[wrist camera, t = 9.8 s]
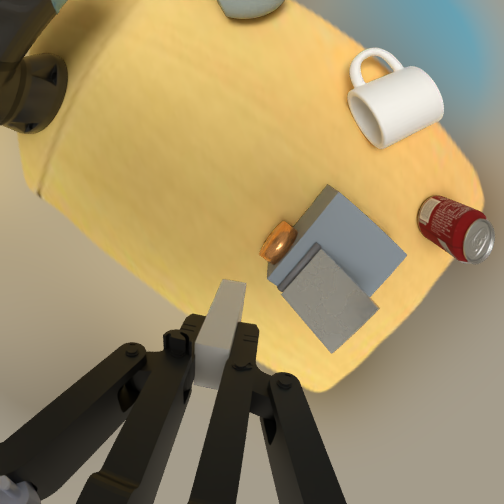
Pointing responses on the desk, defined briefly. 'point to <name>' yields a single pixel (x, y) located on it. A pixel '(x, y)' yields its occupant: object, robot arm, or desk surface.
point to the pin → (278, 243)
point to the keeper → (329, 301)
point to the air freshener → (248, 8)
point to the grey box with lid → (339, 244)
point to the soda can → (457, 229)
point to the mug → (393, 100)
